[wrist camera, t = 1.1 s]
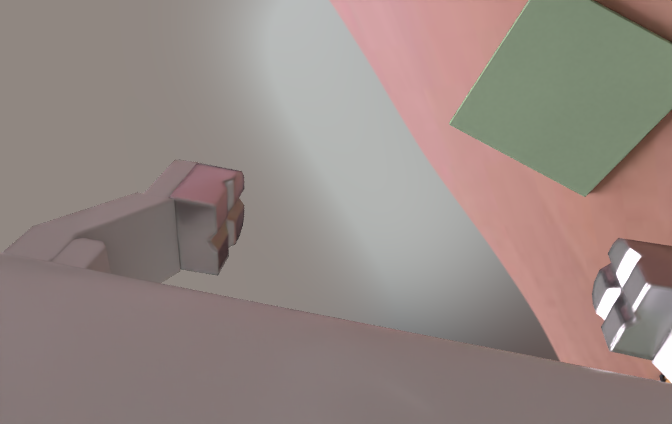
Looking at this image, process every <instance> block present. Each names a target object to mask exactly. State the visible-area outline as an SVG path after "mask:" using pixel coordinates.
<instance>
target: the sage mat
mask: <svg viewBox="0 0 672 424" xmlns="http://www.w3.org/2000/svg"><path fill="white" fill-rule="evenodd" d="M671 110H672V42H670V41H668V40H666V39H664V38H663V37H661V36H659V35H657V34H655V33H653V32H651V31H650V30H648V29H646V28H644V27H642V26H640V25H638V24H637V23H635V22H633V21H631V20H629V19H627V18H625V17H624V16H622V15H620V14H618V13H616V12H614V11H612V10H611V9H609V8H607V7H605V6H603V5H601V4H600V3H598V2H596V1H594V0H529V1H528V2H527V4H526V5H525V7H524V8H523V10H522V11H521V13H520V15H519V16H518V18H517V19H516V21H515V22H514V24H513V25H512V27H511V28H510V30H509V31H508V33H507V35H506V36H505V38H504V39H503V41H502V42H501V44H500V45H499V47H498V48H497V50H496V52H495V53H494V55H493V56H492V58H491V59H490V61H489V62H488V64H487V65H486V67H485V68H484V70H483V72H482V73H481V75H480V76H479V78H478V79H477V81H476V82H475V84H474V85H473V87H472V89H471V90H470V92H469V93H468V95H467V96H466V98H465V99H464V101H463V102H462V104H461V105H460V107H459V109H458V110H457V112H456V113H455V115H454V116H453V118H452V119H451V121H450V123H449V125H451V126H453V127H455V128H457V129H459V130H460V131H462V132H464V133H466V134H468V135H470V136H472V137H474V138H475V139H477V140H479V141H481V142H483V143H485V144H487V145H489V146H490V147H492V148H494V149H496V150H498V151H500V152H502V153H504V154H505V155H507V156H509V157H511V158H513V159H515V160H517V161H519V162H520V163H522V164H524V165H526V166H528V167H530V168H532V169H534V170H535V171H537V172H539V173H541V174H543V175H545V176H547V177H549V178H550V179H552V180H554V181H556V182H558V183H560V184H562V185H564V186H565V187H567V188H569V189H571V190H573V191H575V192H577V193H579V194H580V195H582V196H584V197H586V196H587V195H588V194H589V192H590V191H591V190H592V189H593V188H594V187H595V186H596V185H597V184H598V183H599V182H600V181H601V180H602V179H603V178H604V177H605V176H606V175H607V174H608V173H609V172H610V171H611V170H612V169H613V168H614V167H615V166H616V165H617V164H618V163H619V162H620V161H621V160H622V159H623V158H624V157H625V156H626V155H627V154H628V153H629V152H630V151H631V150H632V149H633V148H634V147H635V146H636V145H637V144H638V143H639V142H640V141H641V140H642V139H643V138H644V137H645V136H646V135H647V134H648V133H649V132H650V131H651V130H652V129H653V128H654V127H655V126H656V125H657V124H658V123H659V122H660V121H661V120H662V119H663V118H664V117H665V116H666V115H667V114H668V113H669V112H670V111H671Z"/></svg>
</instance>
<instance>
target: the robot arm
mask: <svg viewBox="0 0 672 424" xmlns="http://www.w3.org/2000/svg"><path fill="white" fill-rule="evenodd" d="M243 190H244V175H243V173H242V171H237V170H232V169H227V168H222V167H217V166H212V165H207V164H202V163H197V162H192V161H186V160H174V161H173V162H172V163H171V164H170V165H169V167H168V168H167V169H166V170H165V171H164V172H163V173H162V174H161V175H160V176H159V177H158V178H157V179H156V181H155V182H154V183H153V184H152V185H151V186H150V187H149V188H148V189H147V190H146V191H145V192H144V193H138V192H137V193H134V194H131V195H127V196H124V197H121V198H118V199H115V200H112V201H109V202H106V203H103V204H100V205H97V206H94V207H91V208H88V209H85V210H81V211H78V212H75V213H72V214H69V215H66V216H63V217H60V218H57V219H54V220H50V221H47V222H44V223H41V224H38V225H35V226H32V227H31V228H30V229H29V230H28V231H27V232H26V233H24V234H23V235H22V236H21V237H20V238H19V239H17V240H16V241H15V242H14V243H13V244H12V245H11V246H9V247H8V248H7V249H6V250H5V251H4V252H0V424H672V246H668V245H661V244H655V243H648V242H642V241H635V240H628V239H621V238H618V239H617V240H616V241H615V242H614V243H613V245H612V247H611V248H610V250H609V252H608V255H609V258H610V261H611V263H610V264H609V265H607V266H605V267H603V268H602V269H600V270H599V272H598V275H597V277H596V279H595V281H594V286H593V292H592V298H593V305H594V308H595V311H596V313H598V314H599V315H600V316H601V317H602V318H603V319H604V320H605V321H604V323H603V324H602V326H601V329H602V331H603V334H604V337H605V340H606V343H607V345H608V348H609V351H611V352H616V353H621V354H625V355H630V356H634V357H639V358H643V359H648V360H653V361H652V363H653V364H654V365H655V366H656V367H657V368H658V369H659V370H660V371H661V372H662V373H663V374H664V376H665V377H666V378H667V379H668V380H669V381H670V382H671V383H667V382H661V381H656V380H651V379H646V378H641V377H636V376H631V375H626V374H621V373H615V372H610V371H605V370H600V369H595V368H590V367H585V366H580V365H575V364H569V363H564V362H559V361H554V360H549V359H544V358H539V357H533V356H528V355H523V354H518V353H512V352H508V351H503V350H498V349H493V348H488V347H482V346H477V345H472V344H467V343H462V342H457V341H452V340H446V339H442V338H437V337H431V336H426V335H421V334H416V333H411V332H406V331H401V330H396V329H391V328H386V327H380V326H375V325H370V324H365V323H360V322H355V321H349V320H345V319H340V318H335V317H330V316H324V315H319V314H314V313H309V312H304V311H299V310H293V309H289V308H284V307H278V306H273V305H268V304H263V303H258V302H253V301H248V300H243V299H237V298H233V297H227V296H222V295H217V294H212V293H207V292H202V291H197V290H192V289H187V288H182V287H176V286H171V285H166V284H161V283H162V282H163V281H165V280H167V279H168V278H170V277H172V276H173V275H175V274H176V273H178V272H180V269H182V270H187V271H194V272H200V273H206V274H212V275H219V273H220V271H221V269H222V267H223V266H224V264H225V262H226V260H227V259H228V256H229V255H228V254H229V253H228V248H229V247H231V246H233V245H235V244H236V242H237V240H238V238H239V236H240V233H241V229H242V226H243V219H244V205H243V203H242V202H241V200H240V199H239V197H240V195H241V193H242V192H243Z"/></svg>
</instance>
